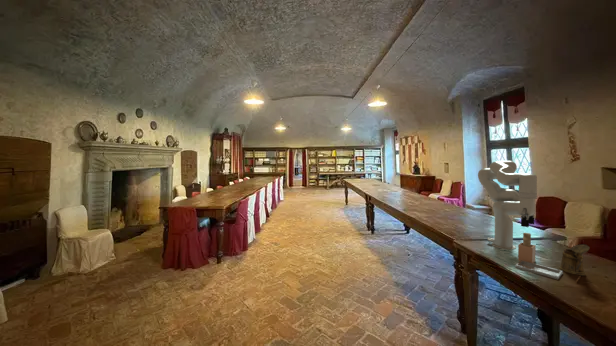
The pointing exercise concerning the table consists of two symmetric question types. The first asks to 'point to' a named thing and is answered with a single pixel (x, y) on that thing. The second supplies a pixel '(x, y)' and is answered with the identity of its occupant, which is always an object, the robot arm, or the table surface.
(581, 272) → the wooden mug
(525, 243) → the dowel
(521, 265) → the tray
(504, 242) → the robot arm
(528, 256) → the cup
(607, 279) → the table surface
